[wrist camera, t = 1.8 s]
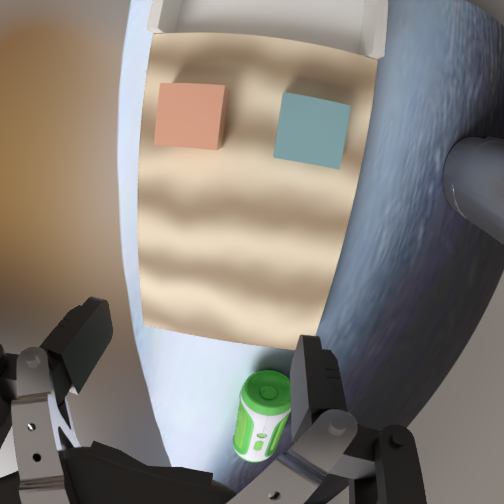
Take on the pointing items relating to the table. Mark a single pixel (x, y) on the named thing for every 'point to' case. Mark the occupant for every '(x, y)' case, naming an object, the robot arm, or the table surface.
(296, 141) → the teal tile
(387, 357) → the table surface
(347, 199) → the wooden tray board
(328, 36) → the box
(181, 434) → the table surface
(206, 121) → the terracotta tile
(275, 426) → the speaker
